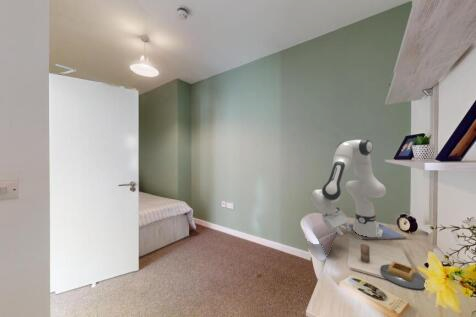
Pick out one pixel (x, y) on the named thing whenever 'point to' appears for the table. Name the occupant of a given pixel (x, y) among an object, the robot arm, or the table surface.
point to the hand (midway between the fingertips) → (346, 232)
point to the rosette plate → (403, 276)
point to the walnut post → (365, 253)
